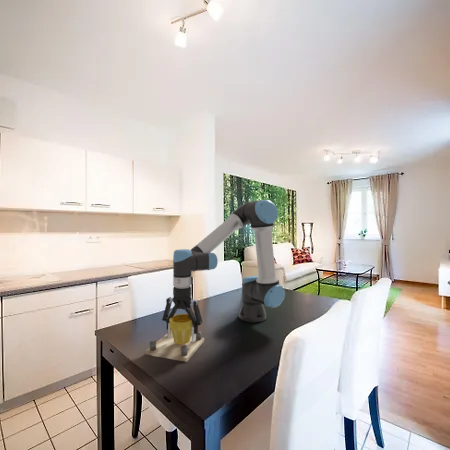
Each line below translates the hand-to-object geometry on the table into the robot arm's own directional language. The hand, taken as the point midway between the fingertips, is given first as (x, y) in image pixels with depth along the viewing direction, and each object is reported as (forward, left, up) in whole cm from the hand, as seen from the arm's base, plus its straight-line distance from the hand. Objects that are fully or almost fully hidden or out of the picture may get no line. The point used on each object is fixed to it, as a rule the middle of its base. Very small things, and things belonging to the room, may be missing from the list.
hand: (182, 339), depth 106 cm
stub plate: (+2, 0, -4) cm, 5 cm away
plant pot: (0, 0, -1) cm, 1 cm away
